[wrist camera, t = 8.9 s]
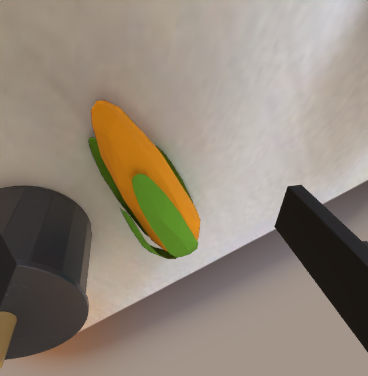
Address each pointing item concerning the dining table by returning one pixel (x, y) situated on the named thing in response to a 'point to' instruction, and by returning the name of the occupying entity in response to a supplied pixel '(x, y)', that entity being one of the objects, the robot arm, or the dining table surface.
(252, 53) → the dining table surface
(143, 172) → the corn
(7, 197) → the pot
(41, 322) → the pot lid
